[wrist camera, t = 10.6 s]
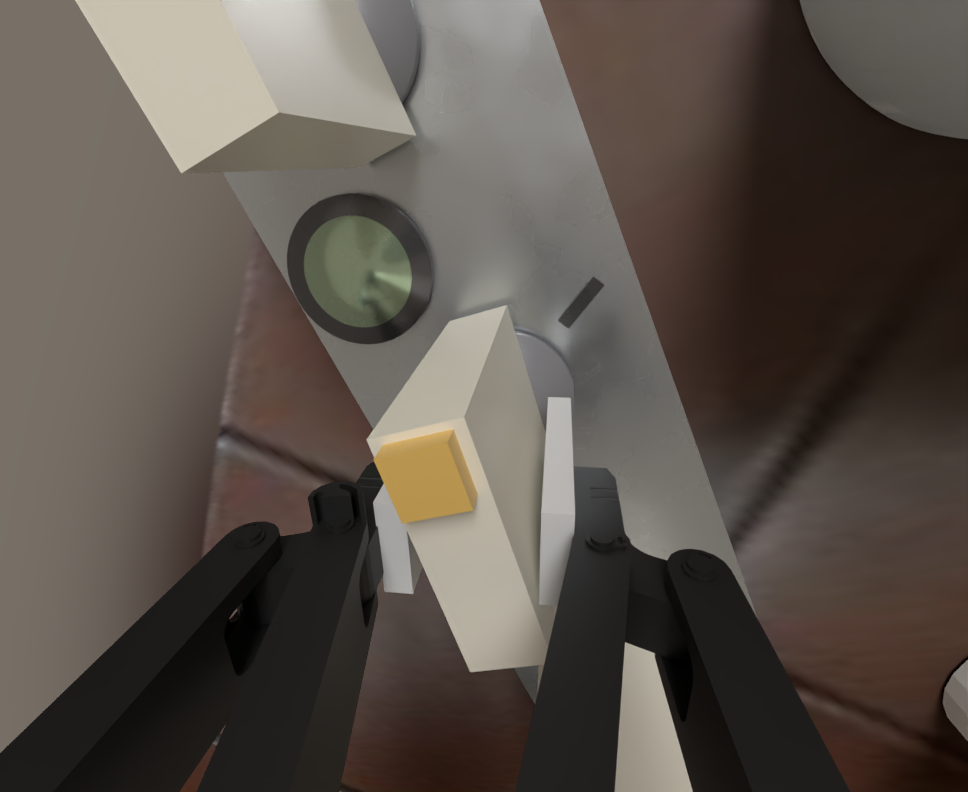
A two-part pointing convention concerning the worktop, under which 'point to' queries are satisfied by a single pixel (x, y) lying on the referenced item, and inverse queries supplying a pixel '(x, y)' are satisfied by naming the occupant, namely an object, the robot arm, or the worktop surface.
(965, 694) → the cup
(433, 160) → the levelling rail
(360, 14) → the cream slab
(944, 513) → the worktop surface
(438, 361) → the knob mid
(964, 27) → the utensil holder
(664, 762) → the slab with yellow pad
